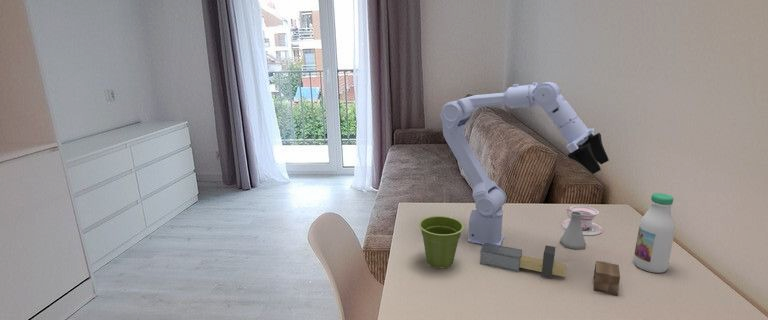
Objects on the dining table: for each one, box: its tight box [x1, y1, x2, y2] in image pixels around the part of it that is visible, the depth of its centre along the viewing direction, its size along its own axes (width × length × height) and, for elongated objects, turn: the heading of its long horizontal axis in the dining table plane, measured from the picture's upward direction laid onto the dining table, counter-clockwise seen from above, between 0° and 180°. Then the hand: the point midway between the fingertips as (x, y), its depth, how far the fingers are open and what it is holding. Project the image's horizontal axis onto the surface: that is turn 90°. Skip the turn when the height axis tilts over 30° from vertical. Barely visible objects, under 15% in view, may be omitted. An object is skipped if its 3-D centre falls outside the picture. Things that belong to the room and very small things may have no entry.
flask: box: [559, 211, 586, 250], centre depth 120 cm, size 7×7×10 cm
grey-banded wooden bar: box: [519, 245, 567, 279], centre depth 107 cm, size 20×4×7 cm, turn 64°
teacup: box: [561, 205, 603, 237], centre depth 132 cm, size 12×12×6 cm
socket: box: [592, 260, 621, 297], centre depth 100 cm, size 5×6×5 cm
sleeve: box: [479, 243, 523, 273], centre depth 110 cm, size 10×4×4 cm, turn 64°
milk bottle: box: [632, 192, 676, 274], centre depth 107 cm, size 8×8×20 cm
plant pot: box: [418, 215, 465, 269], centre depth 110 cm, size 12×12×11 cm
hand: (601, 167), depth 102 cm, fingers open, 7 cm apart
